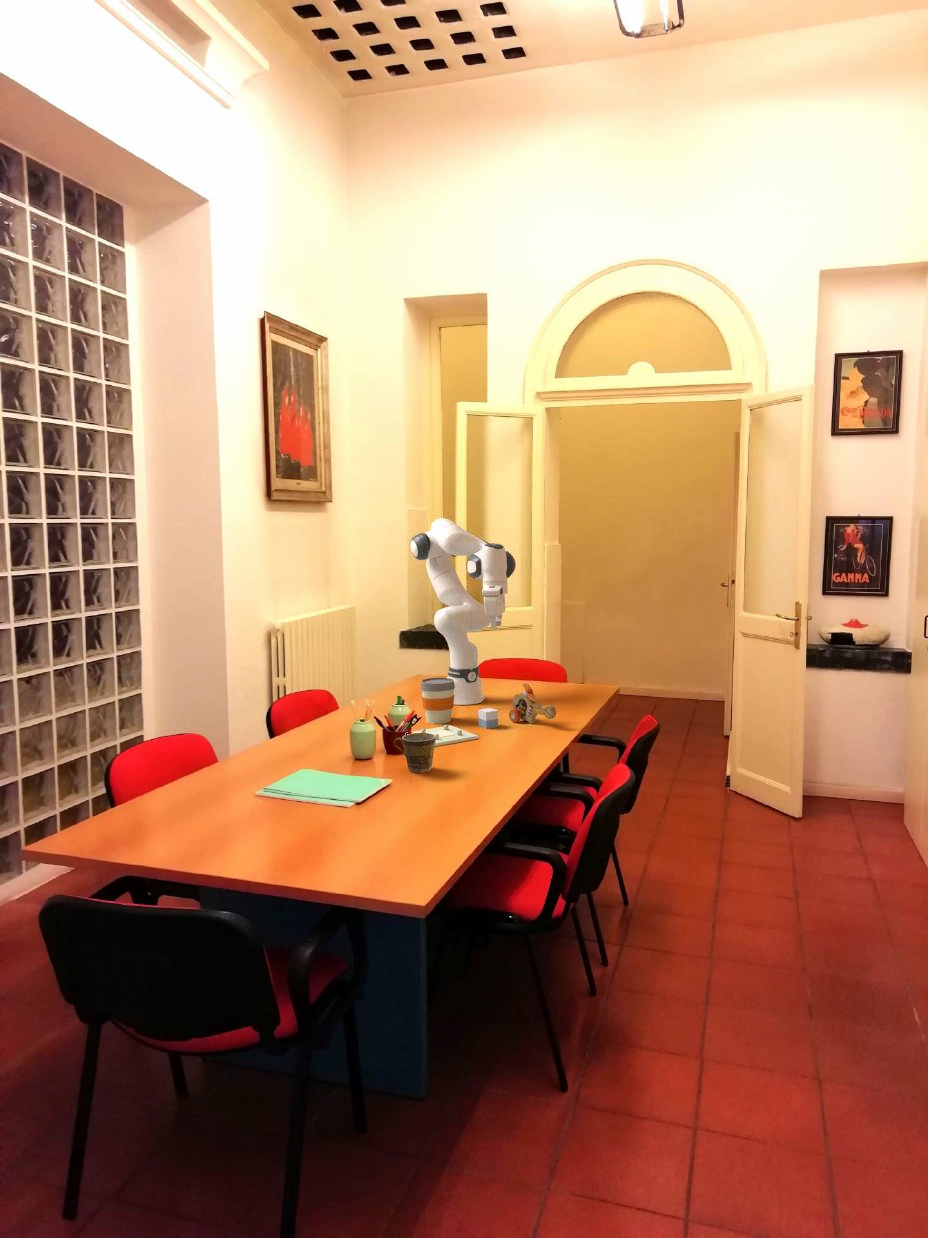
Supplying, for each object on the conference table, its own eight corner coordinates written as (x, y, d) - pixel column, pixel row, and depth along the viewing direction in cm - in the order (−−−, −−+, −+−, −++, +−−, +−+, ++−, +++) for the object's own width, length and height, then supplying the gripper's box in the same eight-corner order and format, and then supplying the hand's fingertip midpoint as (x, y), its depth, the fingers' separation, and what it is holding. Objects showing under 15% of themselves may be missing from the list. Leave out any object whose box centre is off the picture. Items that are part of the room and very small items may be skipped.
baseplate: (405, 735, 300) (405, 728, 300) (450, 728, 309) (450, 721, 309) (431, 747, 285) (431, 739, 285) (478, 738, 294) (477, 731, 294)
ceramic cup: (440, 766, 263) (440, 733, 262) (430, 775, 254) (429, 742, 253) (400, 763, 267) (399, 731, 266) (388, 773, 257) (387, 740, 256)
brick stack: (478, 726, 311) (478, 709, 311) (490, 724, 314) (490, 708, 313) (486, 729, 307) (486, 712, 306) (498, 727, 310) (497, 710, 309)
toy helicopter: (523, 717, 323) (522, 681, 321) (563, 727, 307) (563, 689, 305) (506, 721, 318) (505, 684, 316) (546, 731, 302) (546, 692, 300)
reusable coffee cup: (417, 724, 316) (416, 683, 314) (426, 716, 328) (425, 677, 326) (450, 725, 313) (449, 684, 311) (459, 717, 325) (458, 677, 323)
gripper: (492, 587, 324) (493, 624, 325) (480, 591, 304) (482, 630, 305) (508, 586, 322) (509, 624, 324) (498, 591, 302) (499, 630, 304)
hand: (496, 627), depth 314 cm, fingers open, 8 cm apart
